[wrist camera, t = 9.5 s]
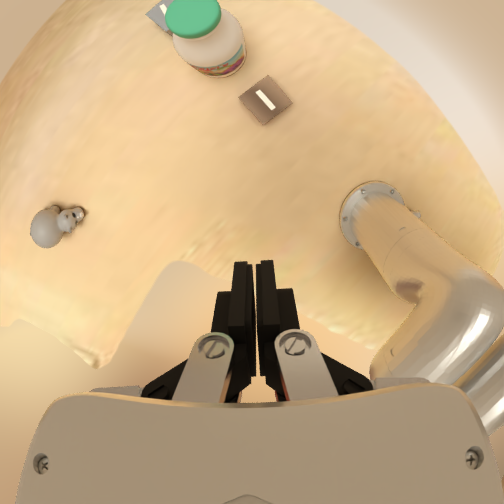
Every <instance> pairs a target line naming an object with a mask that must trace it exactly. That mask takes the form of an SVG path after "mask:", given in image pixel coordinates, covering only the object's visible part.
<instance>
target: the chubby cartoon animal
mask: <svg viewBox="0 0 504 504" xmlns="http://www.w3.org/2000/svg"><path fill="white" fill-rule="evenodd" d="M83 218H84V212H83V210H82V209H81V208H79V207H76V208H74V209H65V210H63V211H62V212H61V213H60V209H59V207H58V206H55V205H54V206H51V207H50V209H46V210H41V211H39V212H38V213H37V214H36V215H35V217H34V218H33V220H32V223H31V228H30V235H31V237H32V239H33V240H34V242H35V243H36V244H37V245H38V246H40V247H42V248H51V247H54V246H55V245H57V244H58V243H59V242H60V240H61V239H62V236H63V233H64V231H65V232H70V233H71V232H72V230H74V229H75V227H76V225H77V223H78V222H79V221H81V220H82V219H83Z"/></svg>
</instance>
